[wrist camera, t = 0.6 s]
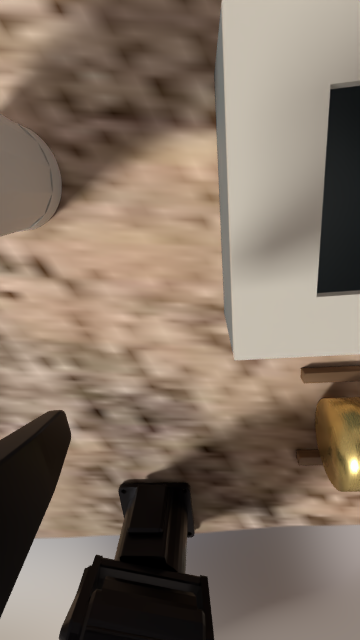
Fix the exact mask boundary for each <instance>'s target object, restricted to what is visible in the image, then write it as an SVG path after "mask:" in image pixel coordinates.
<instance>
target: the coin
mask: <svg viewBox="0 0 360 640" xmlns="http://www.w3.org/2000/svg"><path fill="white" fill-rule="evenodd" d="M315 429H316V438H317V444H318V449H319V453H320V457H321V460H322V463H323V466H324V469H325V471H326V474H327V476H328V478H329V480H330V481H331V483H332V484H333V486H334V487H335V488H336V489H337V490H338V491H341V492H357V491H360V397H349V398H323V399H321V400H320V401H319V402H318V404H317V408H316V414H315Z"/></svg>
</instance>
